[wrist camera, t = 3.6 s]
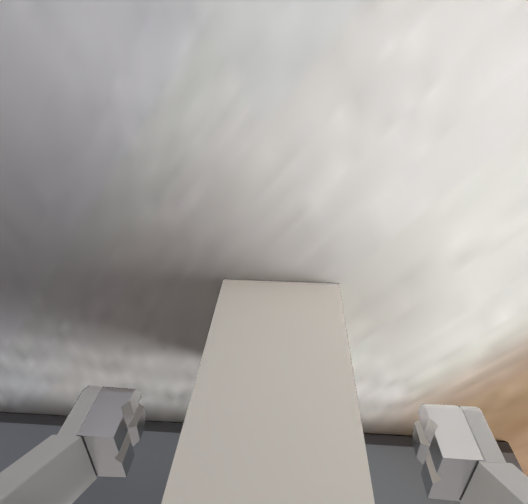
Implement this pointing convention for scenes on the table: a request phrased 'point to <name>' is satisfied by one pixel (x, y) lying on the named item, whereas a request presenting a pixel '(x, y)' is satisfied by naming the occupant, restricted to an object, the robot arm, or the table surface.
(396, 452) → the socket block
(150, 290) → the table surface
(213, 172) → the table surface
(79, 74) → the table surface
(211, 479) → the plug
